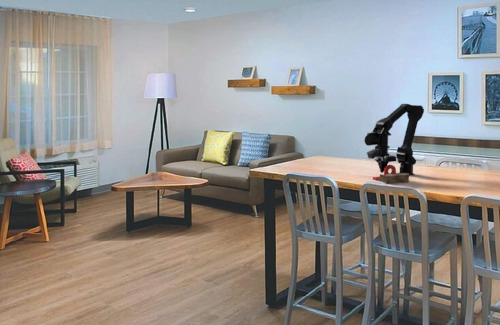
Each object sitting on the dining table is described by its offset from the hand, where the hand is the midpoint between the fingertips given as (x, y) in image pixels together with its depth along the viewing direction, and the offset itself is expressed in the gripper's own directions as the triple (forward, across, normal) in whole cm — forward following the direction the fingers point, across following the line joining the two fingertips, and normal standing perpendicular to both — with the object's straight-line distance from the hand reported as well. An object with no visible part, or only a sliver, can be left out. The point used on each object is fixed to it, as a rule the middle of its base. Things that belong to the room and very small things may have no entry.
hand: (381, 172), depth 266 cm
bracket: (+3, +3, 0) cm, 4 cm away
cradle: (+3, +11, 0) cm, 11 cm away
